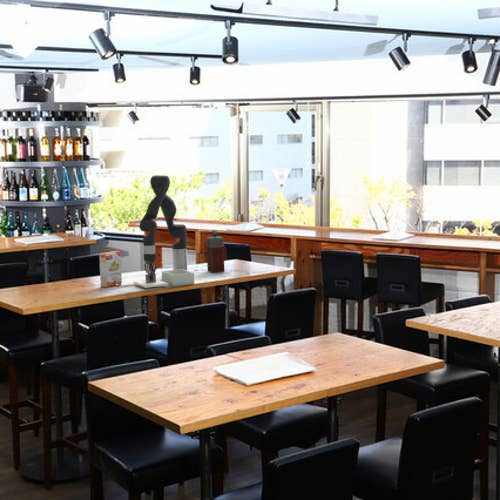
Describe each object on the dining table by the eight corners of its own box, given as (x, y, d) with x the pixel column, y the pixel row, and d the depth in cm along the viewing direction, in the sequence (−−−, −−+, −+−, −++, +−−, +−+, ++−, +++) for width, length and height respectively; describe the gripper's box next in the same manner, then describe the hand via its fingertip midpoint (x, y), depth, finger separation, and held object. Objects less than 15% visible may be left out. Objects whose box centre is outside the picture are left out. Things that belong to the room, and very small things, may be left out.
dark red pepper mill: (227, 271, 569) (226, 229, 565) (212, 273, 564) (210, 231, 560) (222, 269, 577) (221, 228, 573) (207, 271, 572) (205, 230, 568)
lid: (133, 283, 526) (133, 273, 525) (156, 280, 533) (156, 271, 532) (145, 287, 509) (144, 277, 508) (168, 285, 516) (167, 275, 515)
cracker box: (107, 287, 520) (105, 254, 518) (100, 287, 524) (98, 253, 521) (122, 284, 532) (121, 251, 529) (115, 283, 535) (113, 250, 533)
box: (162, 282, 534) (161, 271, 533) (182, 279, 541) (181, 269, 540) (173, 286, 519) (173, 275, 518) (194, 283, 525) (193, 272, 524)
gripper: (139, 252, 523) (140, 279, 525) (148, 254, 511) (149, 282, 513) (151, 250, 526) (152, 278, 528) (159, 253, 514) (160, 281, 516)
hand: (150, 280), depth 521 cm, fingers closed on lid
